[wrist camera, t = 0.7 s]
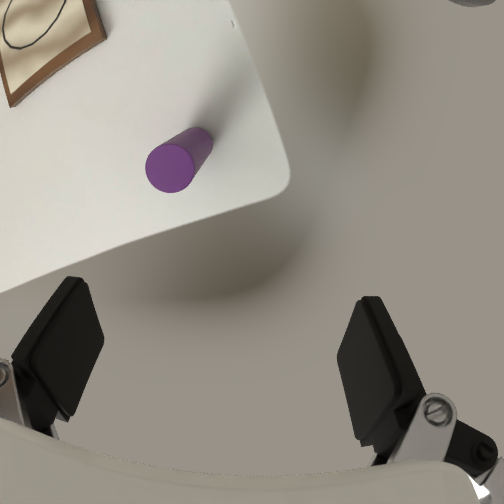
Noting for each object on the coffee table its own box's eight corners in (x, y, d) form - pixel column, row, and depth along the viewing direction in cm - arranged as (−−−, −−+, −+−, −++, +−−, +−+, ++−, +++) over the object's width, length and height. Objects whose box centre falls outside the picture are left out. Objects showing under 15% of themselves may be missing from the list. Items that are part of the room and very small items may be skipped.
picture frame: (-7, -6, 13) (-12, -6, 12) (76, -73, 10) (71, -76, 9) (15, 106, 22) (8, 108, 21) (107, 38, 20) (101, 37, 19)
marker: (191, 120, 25) (159, 134, 16) (220, 137, 26) (204, 159, 17) (174, 148, 26) (137, 178, 18) (202, 165, 27) (179, 202, 18)
